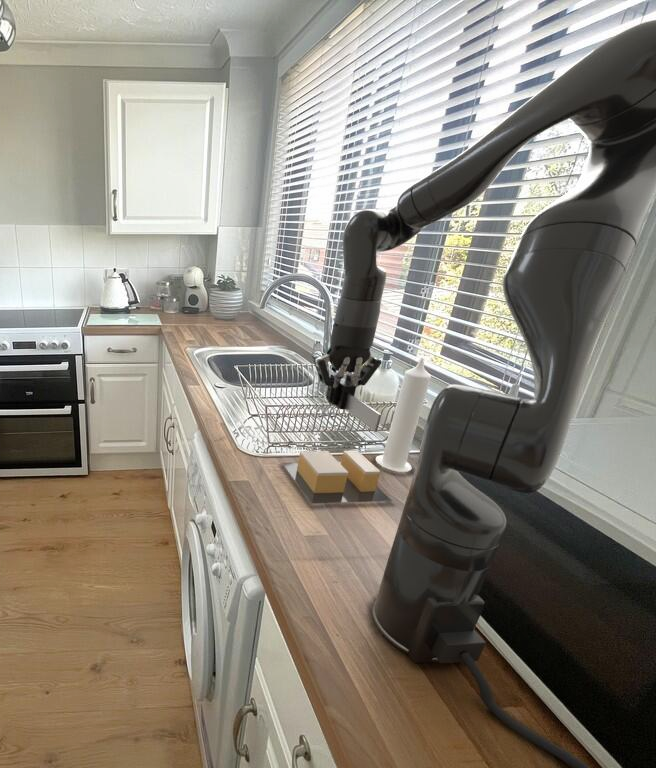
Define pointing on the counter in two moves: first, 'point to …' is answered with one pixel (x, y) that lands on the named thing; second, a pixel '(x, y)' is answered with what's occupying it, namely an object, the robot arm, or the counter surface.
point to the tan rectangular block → (322, 472)
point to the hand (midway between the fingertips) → (338, 403)
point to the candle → (405, 419)
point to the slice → (360, 471)
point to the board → (348, 495)
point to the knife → (356, 405)
